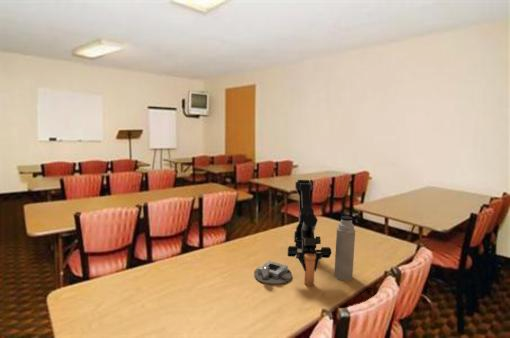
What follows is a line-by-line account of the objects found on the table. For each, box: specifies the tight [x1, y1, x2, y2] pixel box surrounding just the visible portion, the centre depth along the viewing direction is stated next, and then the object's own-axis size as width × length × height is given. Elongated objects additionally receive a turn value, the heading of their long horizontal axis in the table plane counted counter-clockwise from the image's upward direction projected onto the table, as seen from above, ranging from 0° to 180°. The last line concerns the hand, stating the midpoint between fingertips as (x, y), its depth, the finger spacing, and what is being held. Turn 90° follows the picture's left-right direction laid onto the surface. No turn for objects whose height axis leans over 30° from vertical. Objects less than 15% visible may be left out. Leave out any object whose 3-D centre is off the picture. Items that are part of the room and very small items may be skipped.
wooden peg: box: [303, 253, 316, 287], centre depth 138 cm, size 5×5×13 cm
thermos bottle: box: [333, 215, 356, 282], centre depth 144 cm, size 8×8×28 cm
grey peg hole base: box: [253, 260, 293, 286], centre depth 146 cm, size 17×17×6 cm
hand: (310, 271), depth 136 cm, fingers closed on wooden peg, 4 cm apart
